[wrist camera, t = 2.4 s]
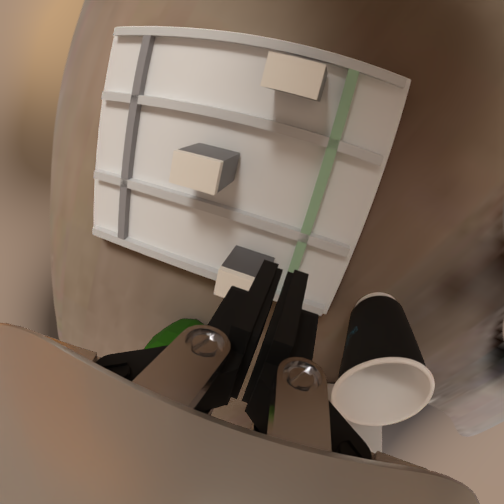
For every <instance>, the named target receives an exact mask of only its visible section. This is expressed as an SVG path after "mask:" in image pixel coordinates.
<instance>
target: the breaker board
mask: <svg viewBox="0 0 504 504" xmlns="http://www.w3.org/2000/svg"><path fill="white" fill-rule="evenodd" d="M113 35H114V40H113V44H112V49H111V54H110V59H109V64H108V69H107V75H106V81H105V87H104V91H102V98H101V99H102V107H101V115H100V123H99V132H98V143H97V154H96V168H95V171H94V179H95V187H94V227H93V235H95V236H98V237H100V238H103V239H105V240H108V241H110V242H113V243H115V244H118V245H121V246H123V247H126V248H128V249H131V250H134V251H136V252H139V253H141V254H144V255H147V256H149V257H152V258H155V259H157V260H160V261H163V262H165V263H168V264H171V265H173V266H176V267H179V268H182V269H184V270H187V271H190V272H193V273H195V274H198V275H201V276H204V277H206V278H209V279H212V280H215V281H216V279H217V274H218V269H219V268H220V267H221V265H222V264H223V262H224V261H225V260H226V258H227V257H228V256H229V254H230V253H231V251H232V250H233V249H234V247H235V246H236V245H238V246H241V247H244V248H247V249H250V250H253V251H256V252H259V253H262V254H265V255H268V256H271V257H274V258H275V260H274V263H277V264H279V265H278V268H280V269H283V272H282V275H281V278H280V281H279V284H278V287H277V290H276V293H275V296H274V299H273V301H276V302H277V301H278V298H279V295H280V292H281V289H282V287H283V284H284V281H285V278H286V275H287V272H288V271H289V272H292V273H293V272H294V269H295V270H298V271H301V272H304V273H307V274H309V276H308V281H307V286H306V291H305V296H304V301H303V305H302V309H303V310H306V311H309V312H313V313H316V314H318V315H319V316H322V314H327V311H328V309H329V307H330V305H331V303H332V300H333V298H334V296H335V294H336V291H337V289H338V287H339V285H340V282H341V280H342V278H343V275H344V273H345V271H346V268H347V266H348V264H349V261H350V259H351V256H352V254H353V251H354V249H355V247H356V244H357V242H358V239H359V237H360V234H361V231H362V229H363V226H364V224H365V221H366V219H367V216H368V213H369V211H370V208H371V205H372V203H373V200H374V197H375V194H376V192H377V189H378V186H379V183H380V180H381V177H382V175H383V172H384V169H385V166H386V163H387V160H388V157H389V154H390V151H391V148H392V144H393V141H394V138H395V135H396V132H397V128H398V125H399V122H400V118H401V115H402V112H403V108H404V105H405V101H406V98H407V94H408V90H409V87H410V83H411V79H409V78H406V77H404V76H401V75H399V74H396V73H393V72H391V71H388V70H385V69H383V68H380V67H377V66H374V65H371V64H368V63H366V62H363V61H359V60H356V59H353V58H350V57H347V56H343V55H340V54H336V53H333V52H329V51H326V50H322V49H318V48H314V47H310V46H306V45H302V44H297V43H293V42H288V41H284V40H279V39H273V38H268V37H262V36H257V35H250V34H244V33H237V32H229V31H221V30H211V29H200V28H186V27H164V26H126V27H115V29H114V34H113ZM269 51H271V52H276V53H281V54H285V55H290V56H294V57H298V58H303V59H307V60H311V61H314V62H318V63H322V64H326V67H327V71H328V74H327V78H326V82H325V86H324V89H323V93H322V97H321V100H320V102H318V101H314V100H311V99H307V98H304V97H300V96H296V95H292V94H288V93H284V92H280V91H276V90H272V89H269V88H266V87H262V86H260V84H261V80H262V76H263V72H264V68H265V64H266V60H267V56H268V53H269ZM197 143H203V144H207V145H211V146H215V147H219V148H223V149H227V150H231V151H235V152H239V153H240V156H239V161H238V165H237V170H236V174H235V179H234V181H233V182H232V183H230V184H229V185H227V186H226V187H225V188H223V189H222V190H221V191H219V192H218V193H217V194H215V195H211V194H208V193H204V192H201V191H197V190H194V189H191V188H187V187H184V186H180V185H176V184H173V183H169V177H170V171H171V164H172V158H173V151H174V150H177V149H180V148H183V147H187V146H190V145H193V144H197Z"/></svg>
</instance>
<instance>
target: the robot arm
mask: <svg viewBox="0 0 504 504" xmlns="http://www.w3.org/2000/svg"><path fill="white" fill-rule="evenodd" d="M278 265H279V264H277V263H274V262H271V261H268V260H265V259H264V261H263V263H262V265H261V267H260V269H259V271H258V273H257V275H256V277H255V279H254V281H253V283H252V285H251V287H250V289H249V291H247V290H244V289H241V288H238V287H235V286H231V288H230V289H229V291H228V293H227V294H226V296H225V297H224V299H223V301H222V302H221V304H220V306H219V307H218V309H217V311H216V312H215V314H214V316H213V317H212V319H211V321H210V322H209V324H208V325H194V326H191V327H188V328H187V329H185V330H184V331H183V332H182V333H181V334H180V335H179V336H178V337H177V338H176V339H174V340H173V341H172V342H171V343H170V344H169V345H166V346H160V347H154V348H148V349H142V350H136V351H129V352H123V353H116V354H110V355H106V356H103V357H102V358H101V357H98V356H97V352H93V351H90V350H87V349H84V348H81V347H77V346H74V345H71V344H68V343H66V342H63V341H60V340H57V339H54V338H51V337H48V336H44V335H42V334H40V333H37V332H35V331H32V330H30V329H27V328H24V327H21V326H16V325H12V324H8V323H0V504H480V503H479V501H478V499H477V497H476V495H475V494H474V492H473V491H472V490H471V489H470V488H469V487H467V486H466V485H464V484H463V483H461V482H459V481H457V480H455V479H453V478H451V477H449V476H446V475H443V474H440V473H437V472H434V471H430V470H427V469H426V468H423V467H420V466H417V465H414V464H411V463H409V462H406V461H403V460H401V459H398V458H395V457H393V456H390V455H387V454H385V453H382V452H380V451H377V452H376V453H373V452H371V451H370V448H369V447H368V445H367V444H366V443H365V441H364V440H363V439H362V438H361V437H360V436H359V435H358V433H357V432H356V431H355V430H354V429H353V428H352V427H351V425H350V424H349V423H348V422H347V421H346V420H345V419H344V417H343V416H342V415H341V414H340V413H339V412H338V410H337V409H336V408H335V407H334V406H333V405H332V403H331V402H330V401H329V400H328V388H327V379H326V375H325V373H324V371H323V370H322V368H321V367H320V366H318V365H317V364H316V363H314V362H313V361H312V358H313V351H314V345H315V338H316V331H317V324H318V314H316V313H313V312H309V311H306V310H303V309H302V305H303V301H304V296H305V291H306V286H307V281H308V276H309V274H307V273H304V272H301V271H298V270H295V269H294V272H293V273H292V272H289V271H288V272H287V275H286V278H285V281H284V284H283V287H282V289H281V292H280V295H279V298H278V301H277V304H276V307H275V310H274V313H273V315H272V318H271V321H270V324H269V327H268V330H267V332H266V335H265V338H264V341H263V344H262V347H261V349H260V352H259V355H258V358H257V361H256V363H255V366H254V369H253V372H252V375H251V377H250V380H249V383H248V385H247V388H246V391H245V394H244V396H243V399H242V401H244V402H247V403H248V404H247V407H246V410H245V412H246V413H247V414H248V416H249V417H250V419H251V420H252V422H253V423H252V425H251V428H250V429H247V428H244V427H241V426H238V425H235V424H232V423H229V422H226V421H224V420H221V419H218V418H215V417H213V416H211V414H212V412H213V410H214V408H217V407H220V406H223V405H228V402H229V400H230V397H233V398H235V399H237V397H238V395H239V392H240V389H241V387H242V384H243V382H244V379H245V376H246V374H247V371H248V369H249V366H250V363H251V361H252V358H253V355H254V353H255V350H256V347H257V345H258V342H259V339H260V336H261V334H262V331H263V328H264V325H265V322H266V319H267V317H268V314H269V311H270V308H271V305H272V302H273V299H274V296H275V293H276V290H277V287H278V284H279V281H280V278H281V275H282V272H283V269H280V268H278Z"/></svg>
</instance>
